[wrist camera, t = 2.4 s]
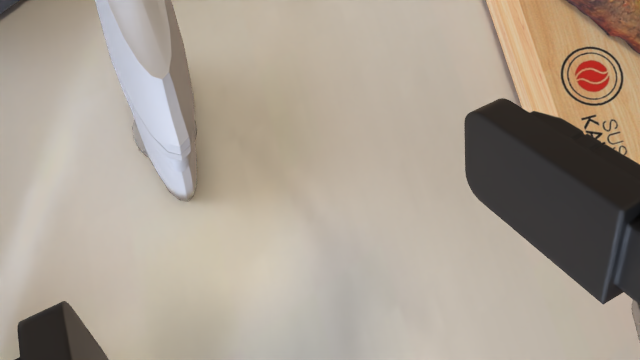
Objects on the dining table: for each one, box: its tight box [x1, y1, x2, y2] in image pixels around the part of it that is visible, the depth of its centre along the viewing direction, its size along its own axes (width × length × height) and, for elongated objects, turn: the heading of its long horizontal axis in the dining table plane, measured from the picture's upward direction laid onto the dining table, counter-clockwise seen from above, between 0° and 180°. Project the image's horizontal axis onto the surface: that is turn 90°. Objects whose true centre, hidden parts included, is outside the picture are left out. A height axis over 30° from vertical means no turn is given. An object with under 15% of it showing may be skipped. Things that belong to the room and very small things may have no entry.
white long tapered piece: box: [95, 0, 197, 201], centre depth 29 cm, size 11×4×22 cm, turn 19°
